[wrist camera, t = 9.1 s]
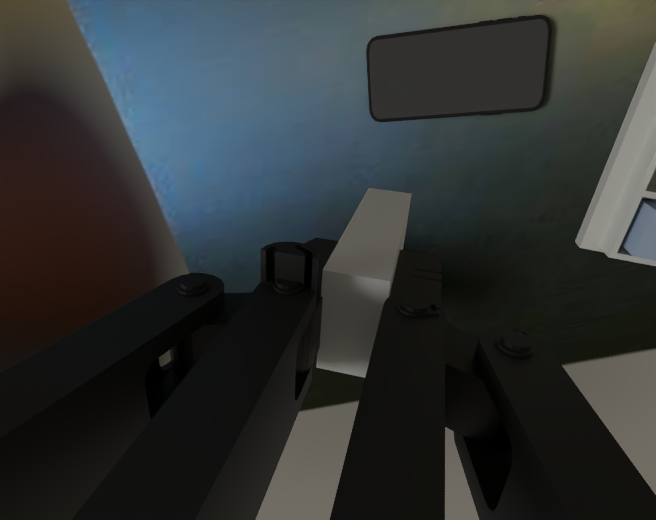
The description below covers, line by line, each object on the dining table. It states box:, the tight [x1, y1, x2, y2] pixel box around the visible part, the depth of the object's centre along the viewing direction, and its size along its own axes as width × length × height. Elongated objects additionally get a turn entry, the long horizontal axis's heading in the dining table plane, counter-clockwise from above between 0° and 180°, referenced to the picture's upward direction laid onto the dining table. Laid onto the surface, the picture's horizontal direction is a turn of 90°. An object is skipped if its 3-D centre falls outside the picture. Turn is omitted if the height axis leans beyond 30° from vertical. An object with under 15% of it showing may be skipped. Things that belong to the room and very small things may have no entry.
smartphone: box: [366, 15, 551, 122], centre depth 38 cm, size 7×1×15 cm
